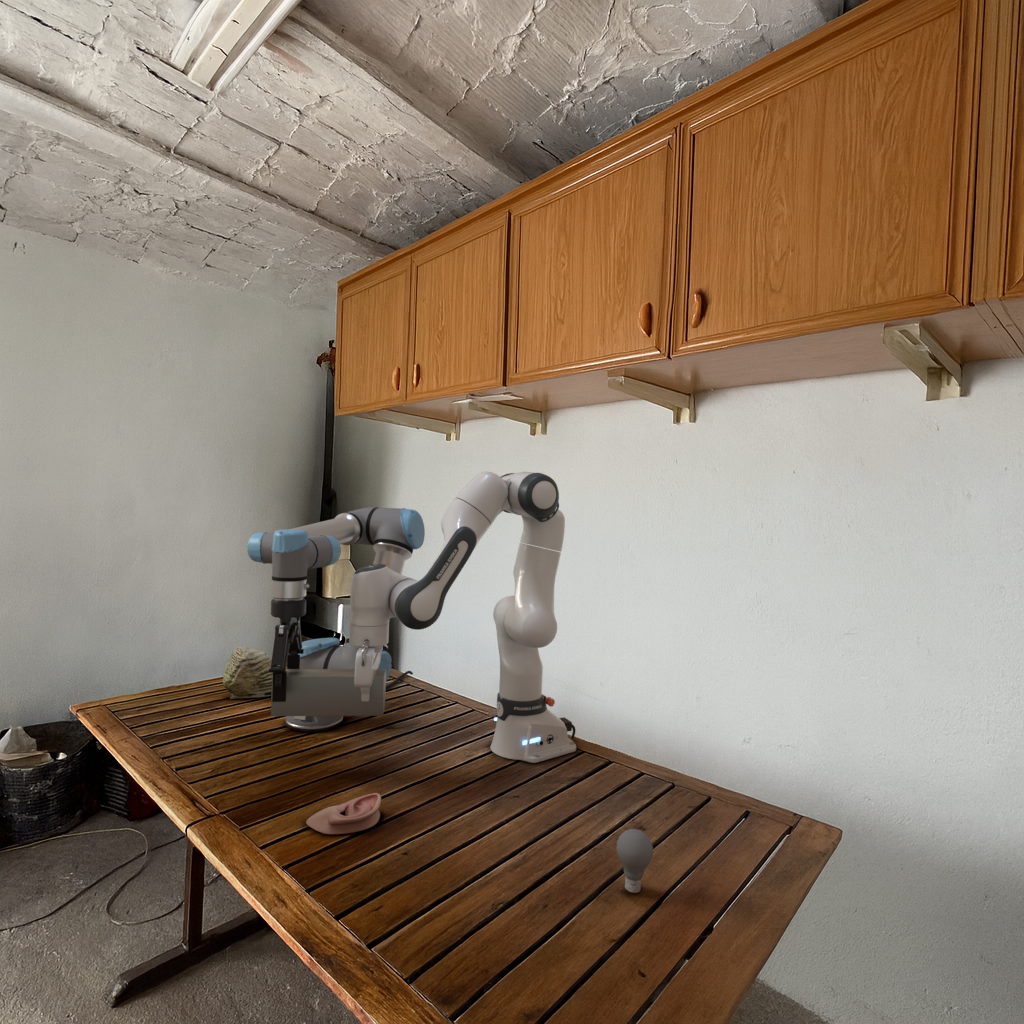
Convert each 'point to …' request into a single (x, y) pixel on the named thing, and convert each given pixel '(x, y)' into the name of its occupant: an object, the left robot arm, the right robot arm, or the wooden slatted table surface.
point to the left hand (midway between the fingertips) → (286, 691)
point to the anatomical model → (347, 816)
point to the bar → (329, 694)
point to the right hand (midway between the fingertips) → (367, 695)
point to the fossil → (248, 673)
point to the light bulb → (634, 857)
